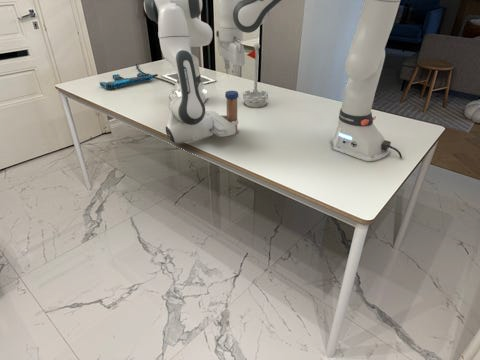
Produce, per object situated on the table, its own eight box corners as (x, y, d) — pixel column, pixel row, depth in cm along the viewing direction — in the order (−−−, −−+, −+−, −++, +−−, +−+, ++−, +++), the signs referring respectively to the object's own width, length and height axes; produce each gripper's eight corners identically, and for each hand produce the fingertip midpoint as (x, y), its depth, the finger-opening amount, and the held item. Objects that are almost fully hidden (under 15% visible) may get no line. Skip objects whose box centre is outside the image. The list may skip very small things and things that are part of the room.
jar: (225, 132, 148) (223, 94, 139) (231, 128, 152) (230, 91, 142) (233, 135, 146) (233, 96, 137) (239, 131, 150) (239, 93, 140)
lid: (222, 97, 140) (222, 93, 139) (230, 94, 143) (230, 89, 142) (233, 100, 137) (233, 95, 136) (240, 96, 141) (240, 92, 140)
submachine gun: (143, 67, 226) (161, 73, 210) (144, 73, 228) (162, 79, 212) (92, 77, 208) (107, 85, 191) (93, 83, 210) (109, 91, 193)
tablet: (161, 76, 220) (161, 75, 220) (187, 70, 231) (187, 69, 231) (189, 87, 200) (189, 87, 199) (216, 81, 211) (216, 80, 210)
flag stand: (261, 97, 185) (263, 39, 169) (271, 105, 175) (275, 44, 158) (239, 100, 181) (239, 41, 165) (248, 109, 171) (249, 46, 154)
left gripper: (216, 128, 131) (246, 120, 137) (194, 111, 146) (222, 105, 152) (217, 142, 135) (246, 134, 141) (195, 124, 149) (222, 118, 155)
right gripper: (249, 39, 120) (248, 78, 128) (229, 30, 136) (229, 65, 144) (232, 40, 118) (233, 80, 126) (214, 30, 134) (215, 66, 142)
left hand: (233, 119), depth 146 cm, fingers closed on jar, 4 cm apart
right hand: (231, 72), depth 135 cm, fingers open, 7 cm apart
